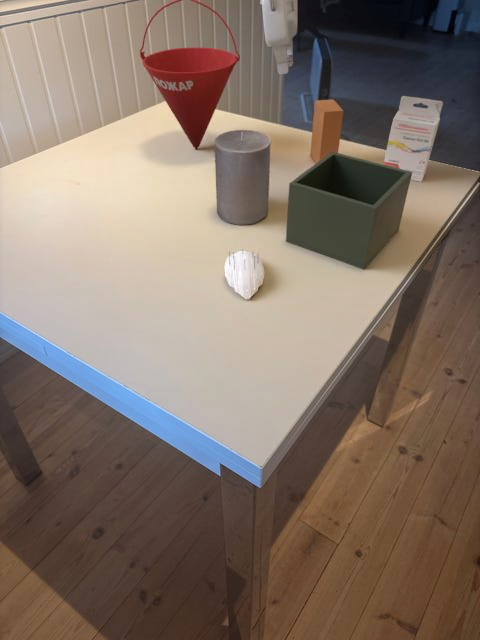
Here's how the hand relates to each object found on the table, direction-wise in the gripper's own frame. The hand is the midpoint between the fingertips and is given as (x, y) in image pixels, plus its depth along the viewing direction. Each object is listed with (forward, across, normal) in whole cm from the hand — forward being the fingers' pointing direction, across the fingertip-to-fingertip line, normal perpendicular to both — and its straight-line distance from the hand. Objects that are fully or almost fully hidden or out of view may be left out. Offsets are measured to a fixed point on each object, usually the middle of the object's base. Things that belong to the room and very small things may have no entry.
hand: (286, 69), depth 87 cm
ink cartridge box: (+24, +9, -21) cm, 34 cm away
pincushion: (+25, -31, +7) cm, 40 cm away
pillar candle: (+22, -11, +10) cm, 26 cm away
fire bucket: (+15, +16, +24) cm, 33 cm away
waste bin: (+26, -17, -9) cm, 32 cm away
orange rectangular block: (+21, +13, -5) cm, 25 cm away
